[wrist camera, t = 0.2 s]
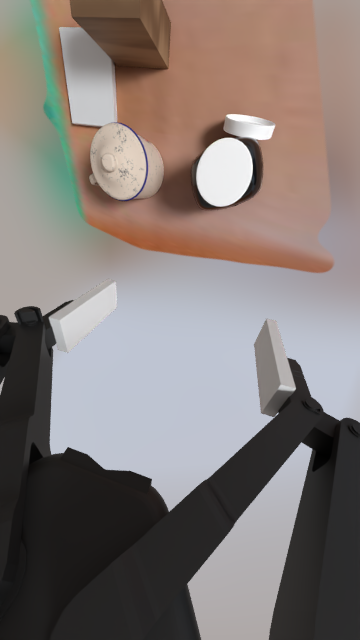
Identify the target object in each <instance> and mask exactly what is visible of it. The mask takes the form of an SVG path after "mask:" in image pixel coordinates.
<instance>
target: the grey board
mask: <svg viewBox="0 0 360 640" xmlns="http://www.w3.org/2000/svg"><path fill="white" fill-rule="evenodd" d="M59 31H60V38H61V45H62V52H63V59H64V66H65V74H66V81H67V88H68V95H69V102H70V110H71V117H72V123H73V124H76V125H84V126H93V127H102V126H104V125H106V124H109V123H113V122H117V104H116V82H115V62H114V61H113V60H112V59H111V58H110V57H109V56H108V55H107V54H106V53H105V52H104V51H103V50H102V49H101V47H100V46H99V45H98V44H97V43H96V42H95V41H94V40H93V39H92V38H91V37H90V36H89V35H88V34H87V33H86V32H85V30H84V29H83V28H75V27H59Z"/></svg>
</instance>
